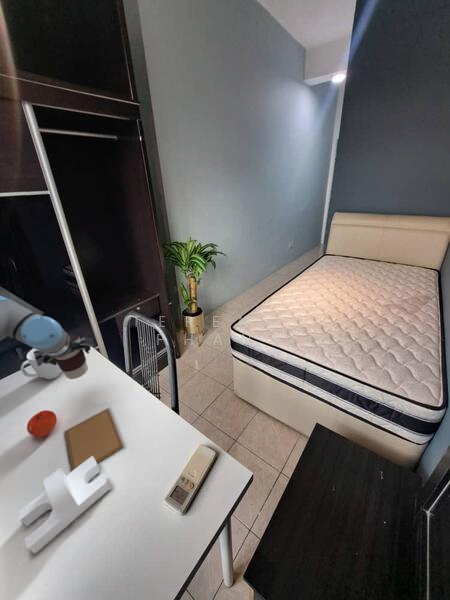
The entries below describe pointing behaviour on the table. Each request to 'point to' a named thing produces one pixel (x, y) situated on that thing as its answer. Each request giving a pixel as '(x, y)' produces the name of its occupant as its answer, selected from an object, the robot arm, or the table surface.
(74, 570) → the table surface
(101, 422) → the placemat
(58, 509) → the block with arch cutout
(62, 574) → the table surface
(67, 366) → the coffee cup
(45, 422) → the apple
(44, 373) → the mug
